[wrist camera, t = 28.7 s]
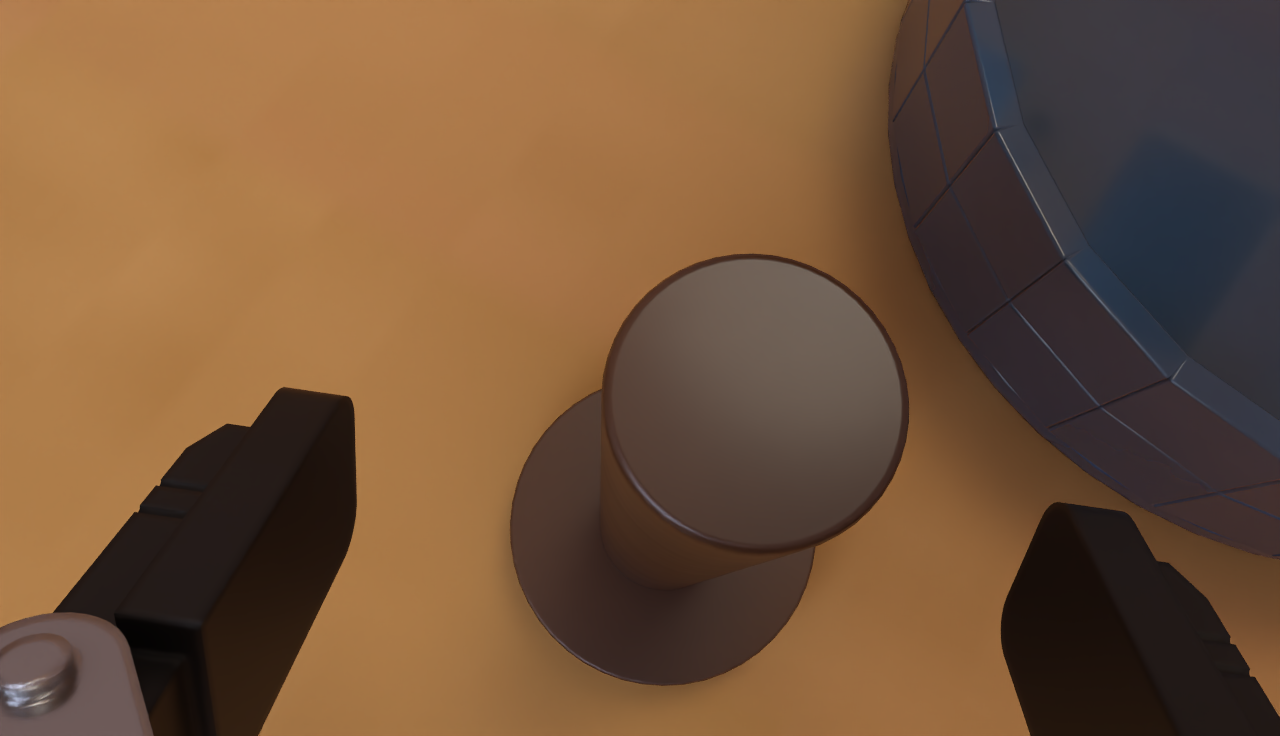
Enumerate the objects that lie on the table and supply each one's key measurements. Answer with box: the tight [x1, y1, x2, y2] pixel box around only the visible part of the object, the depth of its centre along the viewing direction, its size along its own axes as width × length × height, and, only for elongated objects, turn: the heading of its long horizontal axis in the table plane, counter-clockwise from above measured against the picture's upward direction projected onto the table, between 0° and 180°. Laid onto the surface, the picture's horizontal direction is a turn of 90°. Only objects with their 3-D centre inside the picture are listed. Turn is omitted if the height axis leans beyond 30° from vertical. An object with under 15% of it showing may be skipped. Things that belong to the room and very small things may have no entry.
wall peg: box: [510, 254, 909, 686], centre depth 14 cm, size 6×6×13 cm
